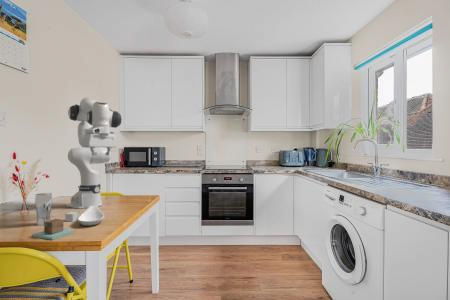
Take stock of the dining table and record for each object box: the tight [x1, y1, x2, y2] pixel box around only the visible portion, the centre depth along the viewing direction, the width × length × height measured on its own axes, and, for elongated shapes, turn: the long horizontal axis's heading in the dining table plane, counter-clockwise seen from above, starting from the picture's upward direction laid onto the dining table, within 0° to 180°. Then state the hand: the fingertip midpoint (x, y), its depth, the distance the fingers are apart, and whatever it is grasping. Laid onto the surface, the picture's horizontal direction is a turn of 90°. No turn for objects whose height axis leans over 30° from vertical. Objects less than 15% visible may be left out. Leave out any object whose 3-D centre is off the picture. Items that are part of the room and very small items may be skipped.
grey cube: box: [64, 211, 79, 223], centre depth 133 cm, size 4×4×4 cm
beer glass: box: [34, 192, 53, 226], centre depth 127 cm, size 7×7×15 cm
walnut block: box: [43, 218, 64, 235], centre depth 111 cm, size 5×5×5 cm
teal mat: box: [32, 228, 75, 241], centre depth 111 cm, size 12×10×1 cm
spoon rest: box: [77, 206, 105, 227], centre depth 132 cm, size 24×12×7 cm, turn 24°
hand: (101, 155), depth 142 cm, fingers open, 8 cm apart
